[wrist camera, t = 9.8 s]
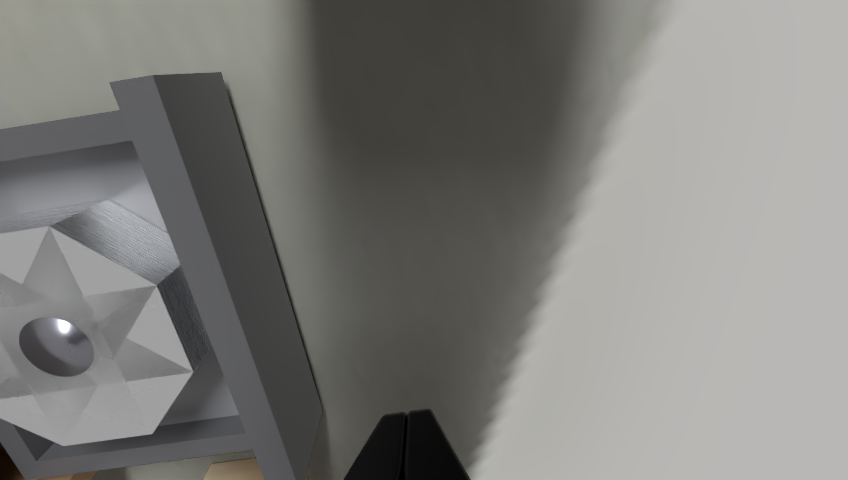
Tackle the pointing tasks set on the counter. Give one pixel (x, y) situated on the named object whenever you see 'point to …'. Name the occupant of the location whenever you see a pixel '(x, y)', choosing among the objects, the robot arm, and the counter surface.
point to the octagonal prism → (93, 324)
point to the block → (236, 470)
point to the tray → (201, 263)
